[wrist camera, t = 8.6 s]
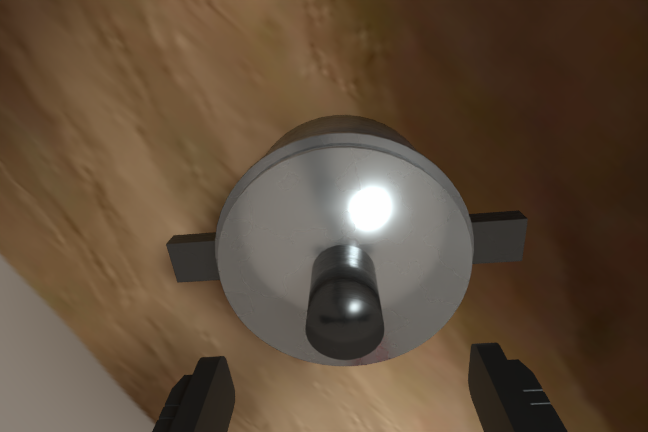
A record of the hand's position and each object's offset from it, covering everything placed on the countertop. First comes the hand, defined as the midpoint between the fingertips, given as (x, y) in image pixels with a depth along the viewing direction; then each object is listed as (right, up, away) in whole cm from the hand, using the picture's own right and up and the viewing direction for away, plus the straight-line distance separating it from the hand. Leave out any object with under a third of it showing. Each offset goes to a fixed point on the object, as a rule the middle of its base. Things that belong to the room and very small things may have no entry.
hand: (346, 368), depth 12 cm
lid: (0, +3, +6) cm, 7 cm away
